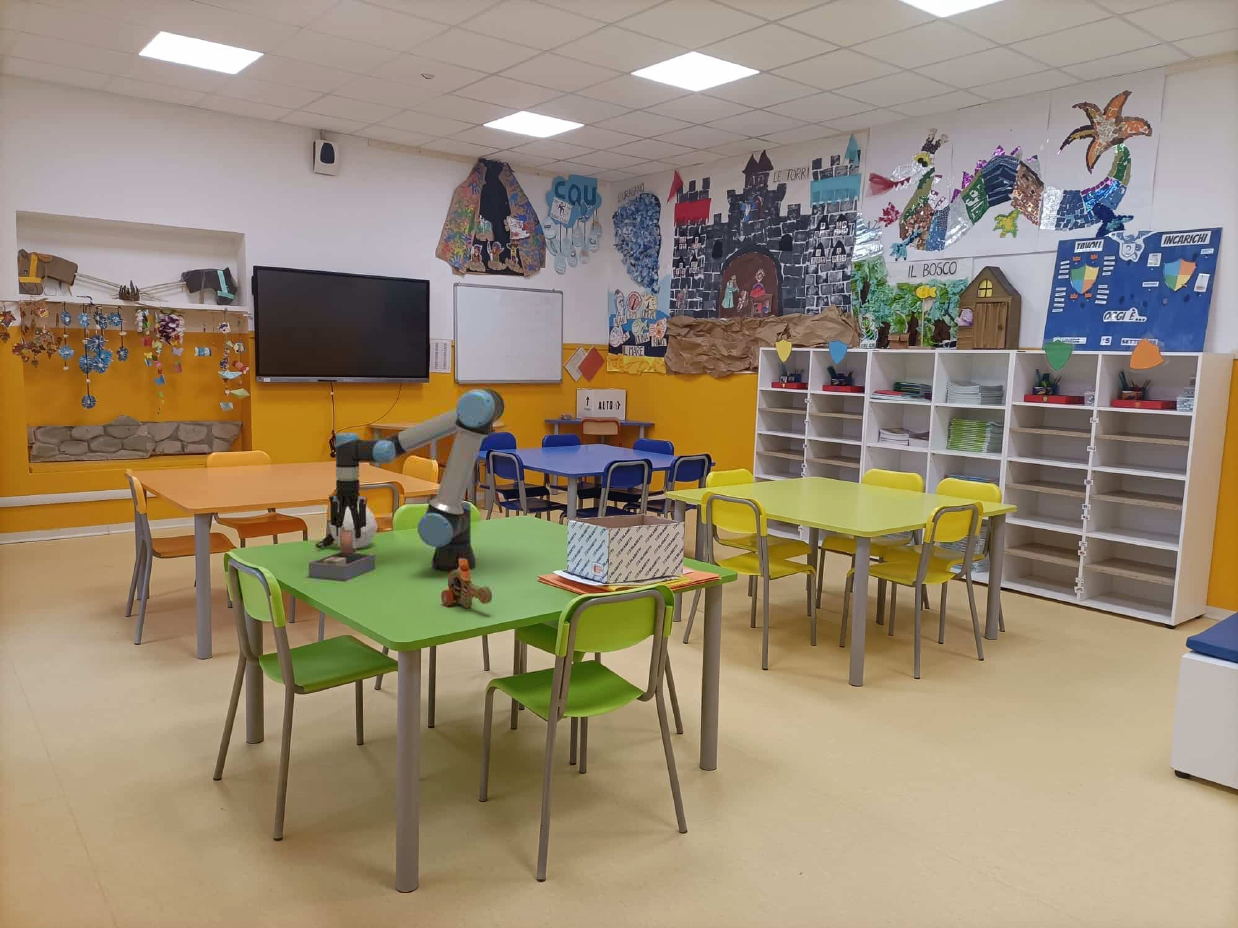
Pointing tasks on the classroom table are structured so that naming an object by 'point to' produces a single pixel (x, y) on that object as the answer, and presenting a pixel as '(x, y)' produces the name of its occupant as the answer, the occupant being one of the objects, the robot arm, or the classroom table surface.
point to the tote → (342, 567)
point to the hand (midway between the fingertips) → (348, 546)
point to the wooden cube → (335, 561)
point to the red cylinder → (347, 542)
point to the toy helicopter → (464, 588)
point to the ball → (366, 531)
